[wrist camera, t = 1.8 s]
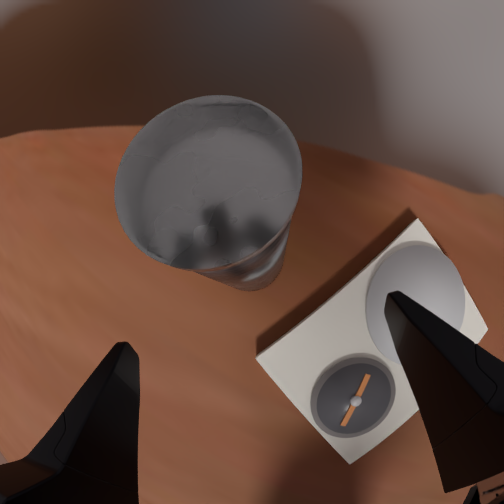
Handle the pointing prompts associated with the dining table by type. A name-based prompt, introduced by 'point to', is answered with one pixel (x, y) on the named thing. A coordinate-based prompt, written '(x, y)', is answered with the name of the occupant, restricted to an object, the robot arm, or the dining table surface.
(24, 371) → the dining table surface
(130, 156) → the metal tumbler
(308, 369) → the dial scale
